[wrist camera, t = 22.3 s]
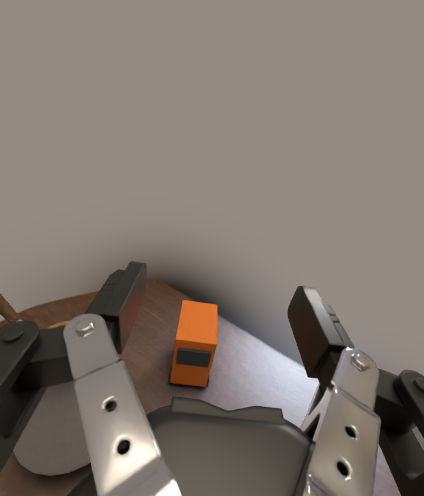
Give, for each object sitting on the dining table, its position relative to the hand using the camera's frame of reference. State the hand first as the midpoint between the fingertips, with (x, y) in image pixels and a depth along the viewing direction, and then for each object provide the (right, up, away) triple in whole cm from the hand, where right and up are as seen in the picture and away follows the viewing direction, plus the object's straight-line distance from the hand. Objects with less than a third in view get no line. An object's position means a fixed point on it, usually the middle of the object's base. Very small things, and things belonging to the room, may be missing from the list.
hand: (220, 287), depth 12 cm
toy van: (-4, -16, +22) cm, 27 cm away
